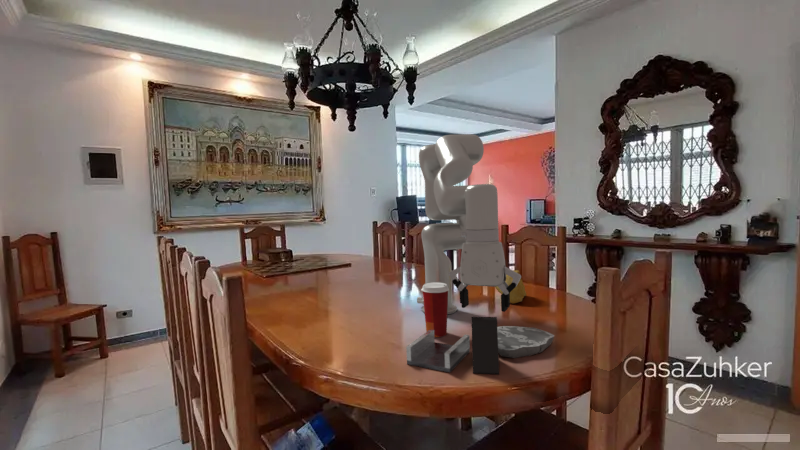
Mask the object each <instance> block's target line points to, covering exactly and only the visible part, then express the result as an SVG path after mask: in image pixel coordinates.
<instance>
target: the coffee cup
mask: <svg viewBox="0 0 800 450" xmlns="http://www.w3.org/2000/svg"><path fill="white" fill-rule="evenodd" d="M448 290H449V288H448V286H447V284H445V283H437V282H435V283H426V282H425V283H424V284H423V285H422V288H421V289H420V291H421V292H422V297H423V300H424V305H423V306H424V311H425V313H424V321H425V330H426V332H427V331H429V330H430V329H431V330H434V338H443V337H446V335H447V333H448V332H447V330H448V314H447V308H448ZM426 332H425V333H426Z"/></svg>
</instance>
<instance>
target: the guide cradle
mask: <svg viewBox="0 0 800 450" xmlns="http://www.w3.org/2000/svg"><path fill="white" fill-rule="evenodd" d="M470 339H471V338H470V334H464V335H463V336H462V337H460V339H458V340H457V341H456V342H455V343H454V344H449V343H441V342H435V337H434V330H431V329H430V330H429V331H427V332H425V333H423V334H422V335H421V336H419V337H418V338H416V339H415V340H413V341H412V342H411V343H409V344H408V345H407V346H406V365H408V364H409V366H415V367H418V366H419V368H422V369H423V368H425V369H428V368H429V369H428V370H435V371H439V372H443V371H444V373H448V372H449V373H452V371H453V370H454V369H455V368H456V367H457V366H458V365H459V364H460V363H461V362H462V361H463V359H464V358H465V357H466V356H468V354H470V353H471V347H470V346H471V345H470V341H471V340H470ZM449 373H448V374H449Z"/></svg>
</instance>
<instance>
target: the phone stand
mask: <svg viewBox="0 0 800 450" xmlns="http://www.w3.org/2000/svg"><path fill="white" fill-rule="evenodd" d="M497 327H498V318H497V316H471V349H472V350H471V351H472V353H471V354H472V358H471V359H472V374H477V375H479V374H481V375H482V374H483V375H500V362H499V361H500V360H499V353H498V334H497Z"/></svg>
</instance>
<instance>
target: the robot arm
mask: <svg viewBox="0 0 800 450" xmlns="http://www.w3.org/2000/svg"><path fill="white" fill-rule="evenodd" d="M484 151H485V149H484V142H483V140H482V139H481V138H480V136H478V135H477V134H472V133H469V134H468V133H467V134H465V133H462V134H458V133H457V134H445V135H442V136H441V137H439V138H438V139H437V141H436V142H435V143H433V144H427V145H423V146H422V147H421V148H420V150H419V153H418V162H419V167H420V171H421V173H422V175H423V179H424V196H425V197H424V209H425V215H426V217H427V219H429V220H431V221H453V220H454V221H456V222H452V223H451V222H450V223H447V222H446V223H442V222H441V223H430V224H428V225H425V226H424V227H423V228H422V230H421V235H420V236H421V242H422V247H423V256H424V273H425V275H424V279H425V284H426V283H435V282H437V283H445V284H447V286H448V288H449V290H448V308H447V315H450V314H451V315H452V314H454V313H456V312H457V310H458V306H456V305H455V304H453V285H454V287H455V288H456V289H457V291H458V292H459V303H460V304H461V308H462V309H464V308H466V307H468V306H469V304H470V303H469V299H470V298H469V289H468V288H467V287H468V286H475V287H476V286H477V287H492V288H493V287H494V288H495V287H496V286H498V287H499V288H500V290H501V291H502V292H503V294H501V295H500V301H501V302H500V304H501V305H500V306H501V309H500V310H501V312H503V313H505V312H506V311H508V309H509V308H510V307H511V306H510V305H511V303H510V292H511V291H512V290H513V289H514V288H515V287H516V286H517V284H518V282H519V281H520V279H522V275H521V274H520V273H519V274H518V273H516V272H514V271H513V269H511V268H509V267H507V266H506V259H505V257H506V256H505V251H504V248H503V247H504V246H503V243H502V242H501V241H500V237H499V236H500V235H499V234H500V233H499V229H500V228H499V203H498V188H497V187H496V185H494V184H491V183H483V184H481V183H480V184H472V185H471V184H470V185H458V184H460V183H463V182H464V181H465V180H466V181H467V179H468V178H469V177H470V176H471V174H472V173H473V171H474V170H473V169H474V167H473V166H476V165H477V164H478V163H479V162H481V160H482V159H483V157H484ZM448 250H461V255H460V265H459V266H458V267H456V268H455V269H453V270H452V262H451V259H450V257H448V255H447V254H446V253H445V251H448ZM458 274H459V277H460V278H458ZM506 274H507V275H508V276H510V277H512V278H513V281H512V283H511V284H510V285H509V286H508V284H507V283H506V282H505V281H506ZM416 304H422V305H423V306H422V307H421V310H422V311H421V312H423V313H424V314H425V311H424V300H423V296H418V297H417V298H416Z"/></svg>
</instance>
